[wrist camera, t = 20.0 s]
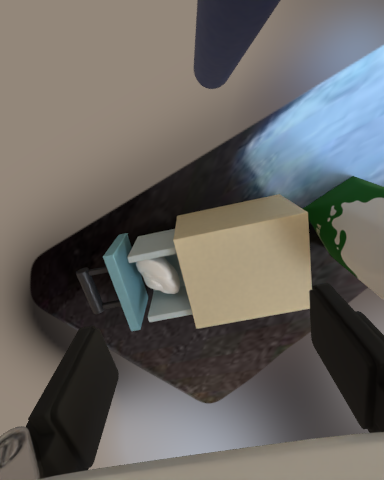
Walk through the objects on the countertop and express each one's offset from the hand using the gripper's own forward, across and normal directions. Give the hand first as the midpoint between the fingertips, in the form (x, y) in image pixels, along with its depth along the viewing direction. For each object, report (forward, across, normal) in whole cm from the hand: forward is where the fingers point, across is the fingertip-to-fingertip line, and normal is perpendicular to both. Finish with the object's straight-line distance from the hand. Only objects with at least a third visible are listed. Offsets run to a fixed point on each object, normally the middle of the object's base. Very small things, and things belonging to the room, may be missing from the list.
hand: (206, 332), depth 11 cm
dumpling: (+21, +6, +6) cm, 22 cm away
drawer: (+23, +7, +7) cm, 25 cm away
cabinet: (+24, -4, +7) cm, 25 cm away
